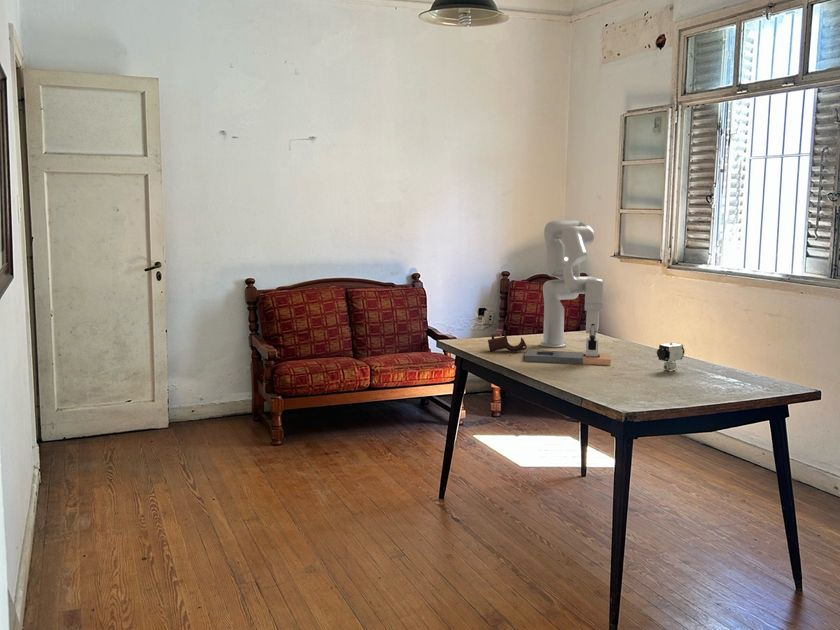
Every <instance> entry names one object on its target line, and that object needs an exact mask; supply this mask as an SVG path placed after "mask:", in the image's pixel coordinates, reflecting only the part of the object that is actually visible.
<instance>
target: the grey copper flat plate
mask: <svg viewBox="0 0 840 630" xmlns="http://www.w3.org/2000/svg"><path fill="white" fill-rule="evenodd" d="M526 351H527V352H526V353H525V357H524V358H525V359H524V360H525V362H532V363H533V362H535V363H536V362H537V363H550V362H553V363H555V364H571V363H576V364H577V365H591V364H597V365H596V366H612V365H611V363H612V361H611V360H612V357H611V353H605V352H598V356H586V351H585V352H584V351H583V352H582V351H562V350H561V351H560V350H542V349H527V350H526ZM553 363H552V364H553ZM576 364H575V365H576Z"/></svg>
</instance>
